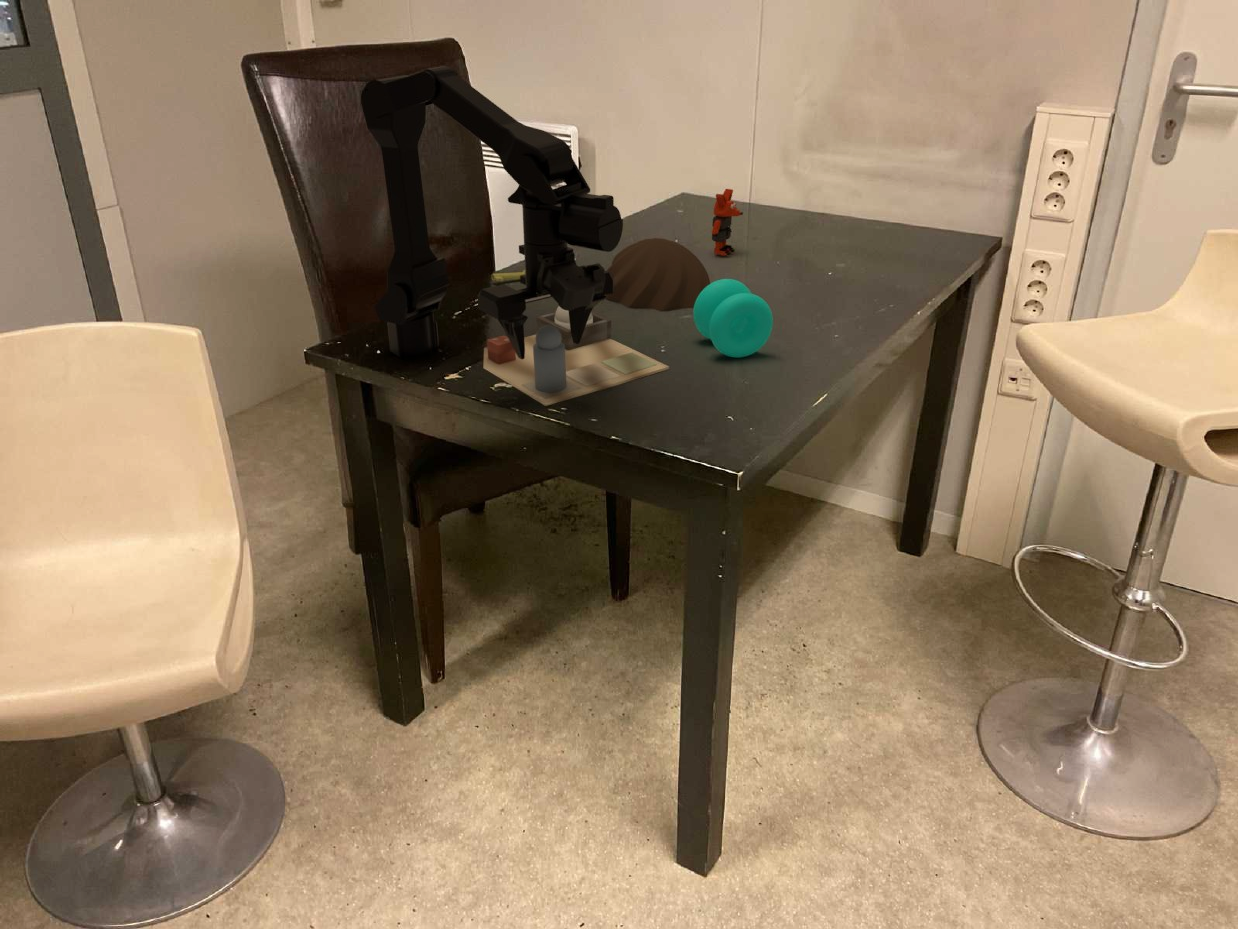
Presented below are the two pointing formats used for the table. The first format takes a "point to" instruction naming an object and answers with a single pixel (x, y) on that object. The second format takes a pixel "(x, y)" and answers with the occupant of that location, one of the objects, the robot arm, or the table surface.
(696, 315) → the teal yo-yo
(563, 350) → the pawn
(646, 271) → the decorative dome
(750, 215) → the table surface
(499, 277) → the key
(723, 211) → the toy animal
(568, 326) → the dome button
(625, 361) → the game board
